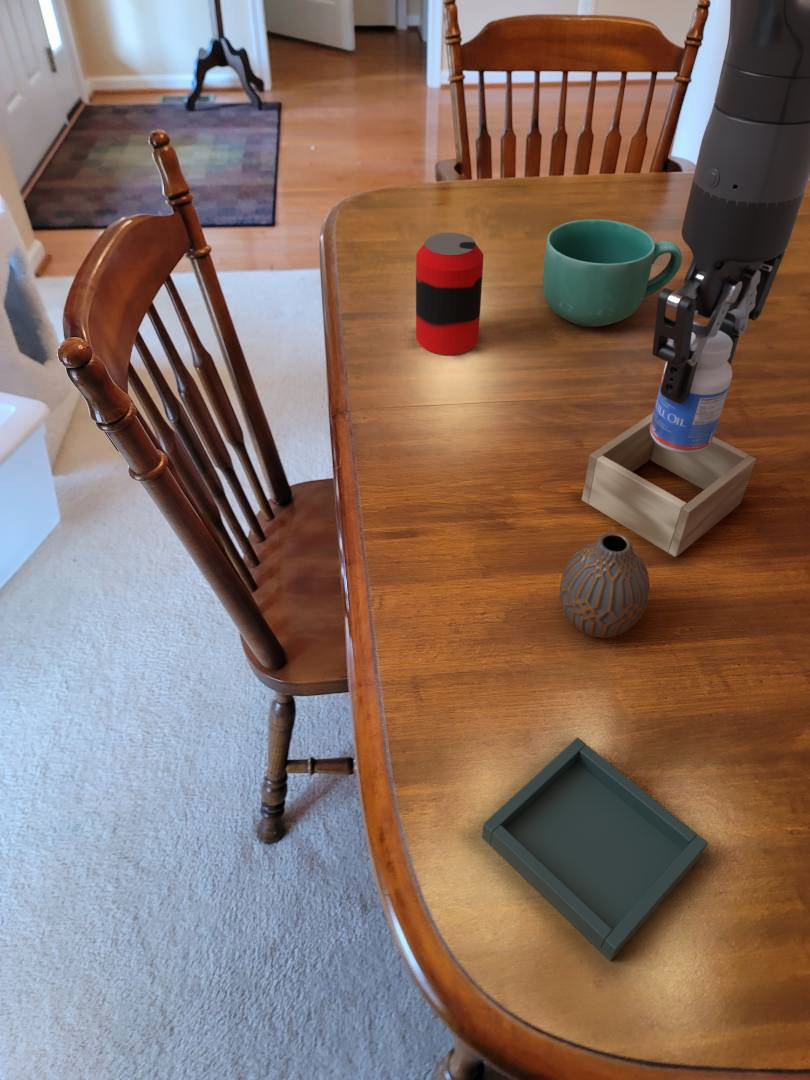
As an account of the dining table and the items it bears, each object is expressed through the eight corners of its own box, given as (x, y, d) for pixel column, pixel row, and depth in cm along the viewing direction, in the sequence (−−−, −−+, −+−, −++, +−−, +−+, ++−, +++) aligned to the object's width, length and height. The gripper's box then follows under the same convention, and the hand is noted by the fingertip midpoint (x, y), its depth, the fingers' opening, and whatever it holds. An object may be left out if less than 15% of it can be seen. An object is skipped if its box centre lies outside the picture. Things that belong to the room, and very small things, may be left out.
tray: (701, 856, 54) (708, 842, 53) (610, 962, 50) (615, 949, 48) (574, 751, 60) (577, 736, 59) (481, 837, 55) (483, 823, 54)
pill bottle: (636, 427, 75) (658, 329, 68) (686, 413, 76) (711, 316, 69) (673, 462, 71) (700, 362, 64) (725, 446, 73) (756, 347, 66)
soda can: (473, 359, 98) (479, 261, 89) (410, 352, 99) (410, 255, 90) (482, 326, 103) (488, 232, 95) (422, 321, 104) (423, 226, 96)
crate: (740, 503, 79) (757, 458, 75) (675, 557, 74) (689, 511, 70) (647, 453, 85) (658, 408, 81) (581, 500, 80) (589, 454, 76)
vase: (620, 664, 65) (641, 588, 59) (540, 628, 68) (553, 551, 62) (652, 609, 70) (675, 532, 63) (576, 576, 72) (591, 500, 66)
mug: (544, 338, 101) (553, 264, 94) (533, 289, 110) (541, 218, 103) (681, 339, 101) (700, 264, 94) (660, 289, 110) (675, 218, 103)
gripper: (742, 222, 53) (683, 439, 64) (850, 165, 60) (779, 370, 71) (643, 190, 57) (605, 399, 68) (756, 140, 64) (703, 337, 75)
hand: (694, 383), depth 70 cm, fingers closed on pill bottle, 5 cm apart
